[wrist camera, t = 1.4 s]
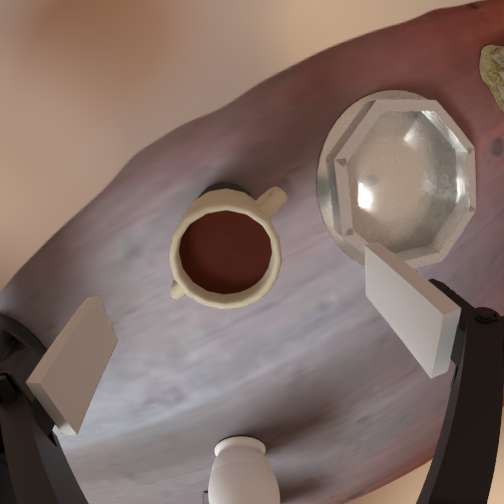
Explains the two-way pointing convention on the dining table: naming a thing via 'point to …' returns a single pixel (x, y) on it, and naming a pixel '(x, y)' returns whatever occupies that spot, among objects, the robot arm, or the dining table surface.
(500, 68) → the ceramic model
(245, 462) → the jar
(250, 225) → the character mug
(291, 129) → the dining table surface
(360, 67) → the dining table surface
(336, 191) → the octagonal bowl
